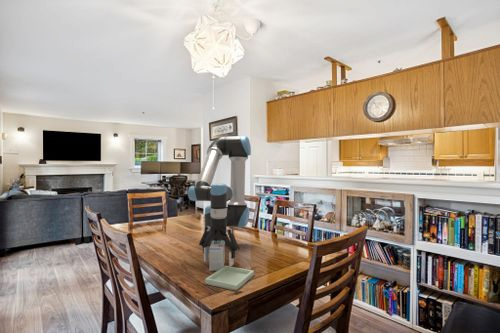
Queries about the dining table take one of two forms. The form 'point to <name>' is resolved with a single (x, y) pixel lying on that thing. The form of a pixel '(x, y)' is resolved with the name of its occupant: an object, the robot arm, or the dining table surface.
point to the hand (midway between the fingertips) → (218, 262)
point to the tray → (230, 277)
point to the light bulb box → (216, 255)
